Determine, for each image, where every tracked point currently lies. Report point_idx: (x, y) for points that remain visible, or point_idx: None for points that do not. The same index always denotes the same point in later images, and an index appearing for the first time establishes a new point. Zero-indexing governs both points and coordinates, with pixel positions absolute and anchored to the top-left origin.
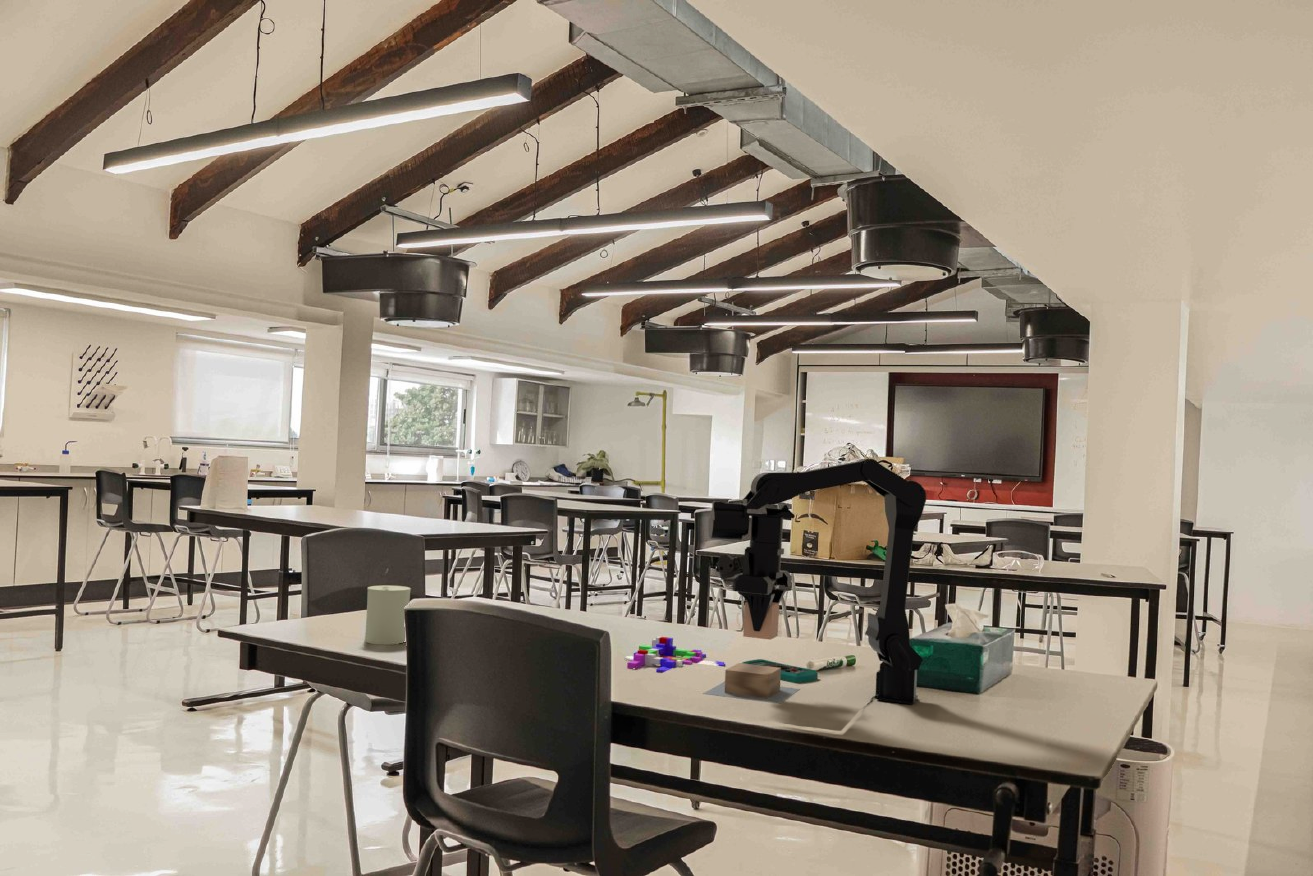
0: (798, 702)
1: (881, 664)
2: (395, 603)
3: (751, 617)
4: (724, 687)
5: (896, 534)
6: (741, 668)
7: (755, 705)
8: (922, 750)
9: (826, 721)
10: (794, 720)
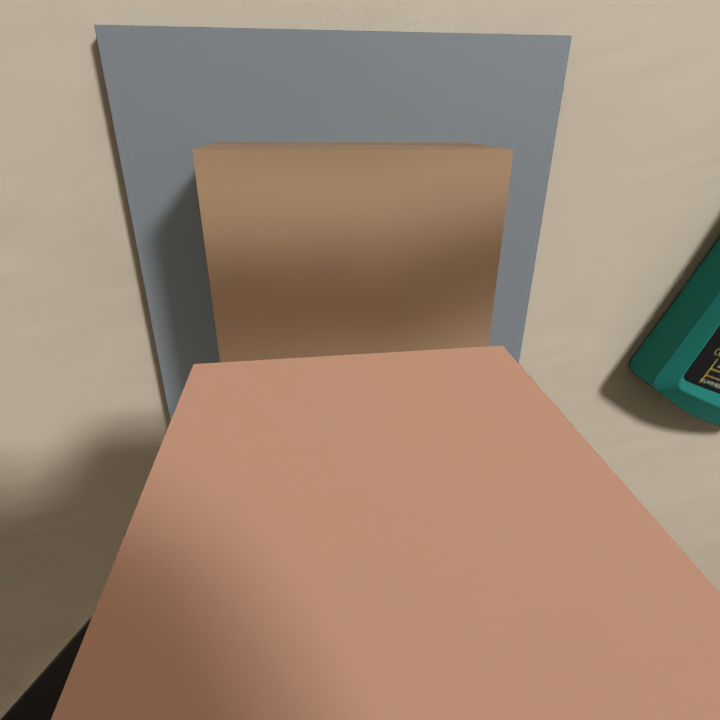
0: None
1: None
2: None
3: (49, 669)
4: (348, 94)
5: None
6: (319, 234)
7: (133, 341)
8: None
9: (85, 597)
10: (5, 527)
